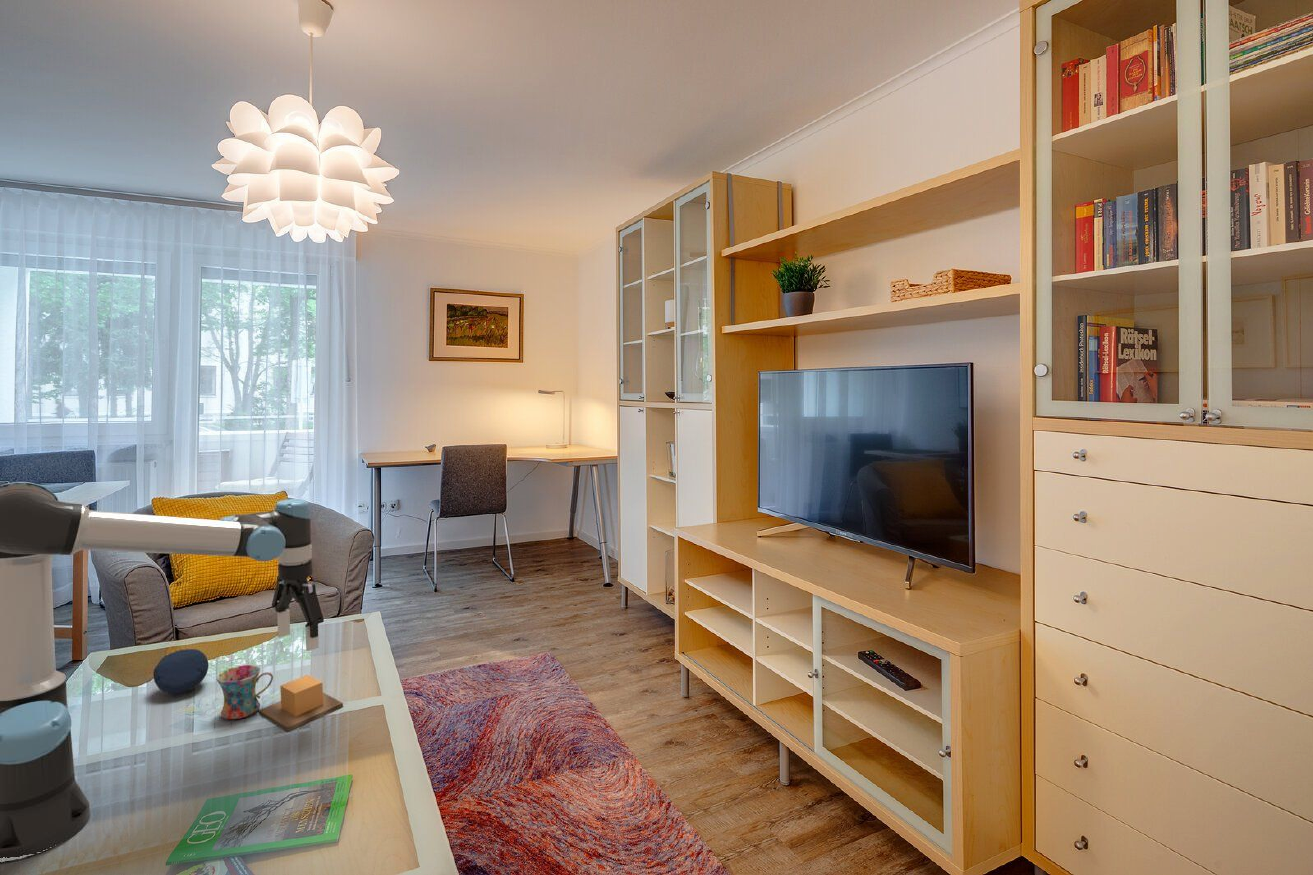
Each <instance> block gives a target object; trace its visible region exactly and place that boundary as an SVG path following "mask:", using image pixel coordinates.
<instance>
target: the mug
mask: <svg viewBox="0 0 1313 875" xmlns="http://www.w3.org/2000/svg"><path fill="white" fill-rule="evenodd" d="M260 672H261V667H259V666H258V665H254V664H245V665H243V664H242V665H239V666H233V667H231V668H227V669H226V670H225V669H224V670H223V671H222V672H220V673H219V674H218V675H217V676H216V681H217V683H218V684H219V686H220V688H221V690H222V694H223V706H222V709H221V711H220V716H221V718H223V719H226V720H239V719H243V718H245V717H248V716H251V715H252V714H254V713H255V712H257V711H259V710H260V707H261V702H260V701H259V700H258V699H260V698H261V696H260V695H261V694H263V693H264V692H265V691H266V690H267V689H268V688H269V686H271V683H272V682H273V681H274V676H273V673H271V672H262V673H261V674H260ZM265 675H269V676H270V681H269V682H268V684H267V685H266V686H265V687H264V688H263V689H262V690H260V691H259V692H257V693H256V688H257V687H256V684H258V683H259V680H260V678H261V677H263V676H265Z"/></svg>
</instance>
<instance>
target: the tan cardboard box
mask: <svg viewBox="0 0 1313 875" xmlns="http://www.w3.org/2000/svg"><path fill="white" fill-rule="evenodd" d="M279 688H280V701H281V708H283V709H284V710H286V711H288V712H289V713H291V714H293V715H294V716H298V715H300V714H302V713H304V712H307V711H309V710H311V709H314V708H316V707H318V706H320V705H323V693H324V691H323V690H324V688H323V681H320V680H319V679H317V678H315V677H313V676H311V675H309V674H306V675H304V676H301V677H298V678H297V679H294V680H290V681H289V682H286V683H284V684H281V685H280V687H279Z"/></svg>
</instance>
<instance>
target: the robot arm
mask: <svg viewBox="0 0 1313 875" xmlns="http://www.w3.org/2000/svg"><path fill="white" fill-rule="evenodd" d="M274 506H275V507H274V510H270V511H269V510H268V511H262V512H253V513H245V514H233V515H230V516H224V517H221V518H219V519H209V518H208V519H205V518H196V517H195V518H194V517H182V516H180V517H179V516H178V517H177V516H171V515H170V516H167V515H158V514H157V515H155V514H142V513H140V514H139V513H130V512H128V513H127V512H115V511H105V510H104V511H103V510H94V509H93V510H92V509H89V507H87V506H86V505H85V504H83V503H72V502H65V501H61V500H59V499H58V497H57V495H56V494H55V493H54V492H53V491H51V490H50V489H49V488H48V487H46V486H43V485H41V484H37V483H34V482H27V481H13V482H9V483H3V484H1V485H0V858H3V857H5V858H6V857H7V858H10V857H20V856H23V855H29V854H36V853H37V852H42V851H43V850H46V849H49V848H50V847H53V846H55V845H57V846H59V845H60V844H59V843H61V842H62V843H64V842H65V841H68V840H70V838H72V837H73V836H75V835H76V834H77V833H78V832H80V831H81V830H82V829H83V828H84V827H85V826H86V825H87V823H88V822H89V820H90V817H91V808H90V801H89V800H88V797H86V795H85V794H84V792H83V790H82V789H81V787H80V785H79V784H78V783H77V781H76V778H75V764H74V754H73V743H72V742H73V740H72V730H71V728H72V716H71V715H70V713H69V709H68V708H69V707H68V705H69V704H68V693H67V690H68V689H67V676H66V674H64V673H63V672H61V671H59V670H56V668H57V667H56V653H55V652H56V647H55V644H56V642H55V624H54V623H55V622H54V621H55V620H54V600H53V598H54V597H53V576H52V575H53V570H52V569H53V568H52V557H53V556H55V555H57V556H58V555H61V556H62V555H63V556H72V555H74V554H76V553H77V552H80V551H98V552H124V553H125V552H126V553H143V554H144V553H149V554H150V553H151V554H168V555H169V554H172V555H173V554H175V555H194V556H195V555H196V556H217V557H218V556H220V557H221V556H222V557H223V556H225V557H239V558H251V559H252V560H254V561H259V562H271V561H272V560H275V559H276V558H277V562H278V564H277V572H278V573H277V576H276V584H275V585H276V586H275V590H274V594H273V598H272V601H271V602H272V603H271V607H272V609H274V610H275V612H276V614H277V615H276V619H277V637H278V638H283V637H286V636H287V637H288V636H289V635H291V620H290V619H291V616H290V610H289V609H290V604H291V602H292V600H293V599H294V601H295V602H296V603H298V605H299V607H300V609H301V612H302V614H303V616H304V618H305V621H306V624H305V625H304V628H305V649H306V652H311V651H313V650H316V649H318V648H319V647H320V646H319V644H320V643H319V642H320V641H319V640H320V639H319V624H322V623H324V615H323V613H322V609H321V606H320V601H319V599H318V598H319V597H318V594H317V590H316V584H315V582H313V583H309V582H308V578H309V577H311V575H312V574H313V560H311V559H312V558H313V554H312V552H313V551H312V549H313V545H312V527H311V526H312V515H311V506H310V503H309V502H308V500H306V499H303V498H302V499H300V498H292V499H291V498H290V499H284V500H279V501H278V502H276V503H275V505H274ZM62 843H61V844H62ZM58 844H59V845H58ZM55 847H56V846H55ZM53 848H54V847H53ZM49 850H50V849H49ZM46 851H47V850H46ZM42 853H43V852H42ZM36 855H37V854H36Z"/></svg>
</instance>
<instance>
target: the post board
mask: <svg viewBox="0 0 1313 875" xmlns="http://www.w3.org/2000/svg"><path fill="white" fill-rule="evenodd" d="M343 707H344V703H343V702H342V701H340V700H338V699H336V698H334V697H333V696H331V695H328V694H327V693H325V692H323V705H320V706H318V707H316V708H314V709H311V710H309V711H307V712H304V713H302V714H300V715H298V716H294V715H293V714H291V713H289V712H288V711H286V710H284V709H283V708H281V700H279V701H277V702H275V703H272V704H271V705H270V704H269V705H267V706H265V707H262V708H259V709H258V714H259V715H260V716H262V717H264V718H265V719H266V720H269V721H271V723H274V724H275V725H277V726H278V727H280V728H281V729H283V730H285V731H286V732H290V731H292V730H294V729H297V728H298V727H302V726H303V725H305V724H308V723H309V722H313V721H315V720H316V719H319V718H321V717H323V716H325V715H327V714H330V713H332V712H334V711H336V710H339V709H340V708H343Z"/></svg>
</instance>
